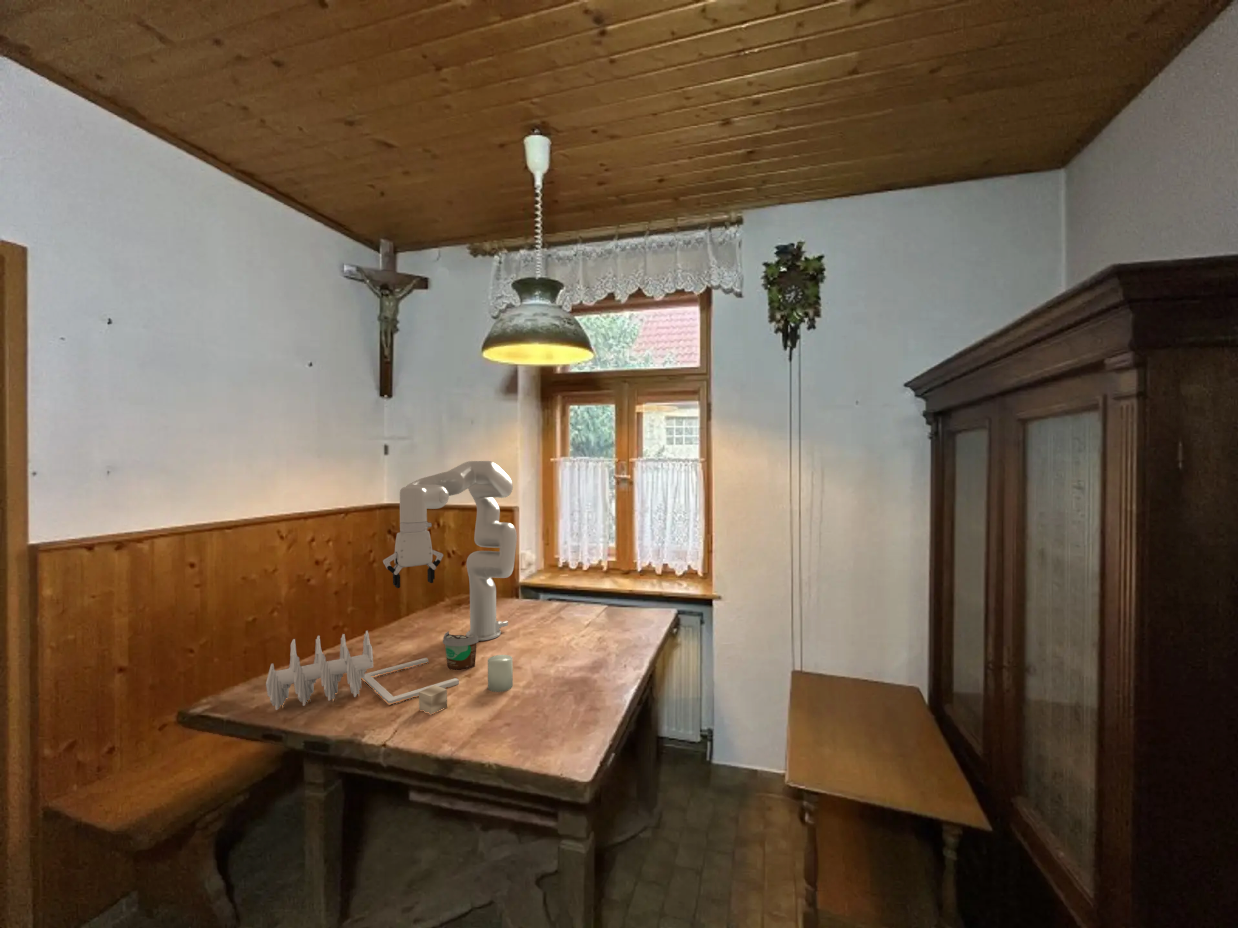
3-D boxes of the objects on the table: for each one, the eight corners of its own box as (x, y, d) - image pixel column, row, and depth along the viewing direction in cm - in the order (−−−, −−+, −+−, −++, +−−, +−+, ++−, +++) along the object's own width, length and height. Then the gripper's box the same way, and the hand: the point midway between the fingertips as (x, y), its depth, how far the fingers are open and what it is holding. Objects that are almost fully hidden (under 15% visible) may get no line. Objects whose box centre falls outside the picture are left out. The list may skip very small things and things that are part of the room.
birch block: (434, 703, 144) (434, 684, 144) (447, 707, 141) (446, 689, 141) (419, 710, 140) (418, 691, 140) (431, 715, 137) (431, 696, 137)
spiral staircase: (276, 716, 145) (376, 694, 155) (261, 714, 131) (372, 691, 141) (277, 648, 152) (372, 631, 162) (262, 638, 137) (369, 621, 147)
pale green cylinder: (504, 679, 159) (504, 652, 159) (517, 686, 154) (516, 659, 154) (483, 686, 154) (483, 659, 154) (495, 694, 149) (495, 665, 149)
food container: (434, 668, 168) (434, 637, 168) (447, 661, 173) (447, 631, 173) (466, 674, 163) (466, 641, 163) (478, 666, 169) (478, 635, 169)
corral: (425, 661, 174) (425, 657, 174) (458, 683, 156) (458, 679, 156) (360, 678, 160) (360, 674, 160) (388, 705, 142) (388, 701, 142)
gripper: (438, 524, 167) (438, 578, 167) (379, 529, 156) (380, 586, 157) (446, 526, 161) (447, 582, 161) (386, 531, 151) (387, 591, 151)
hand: (414, 584), depth 159 cm, fingers open, 9 cm apart
